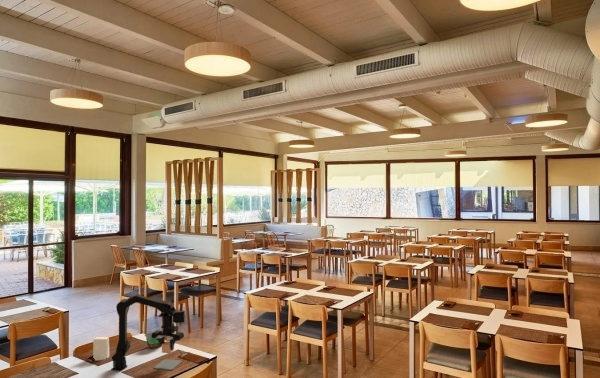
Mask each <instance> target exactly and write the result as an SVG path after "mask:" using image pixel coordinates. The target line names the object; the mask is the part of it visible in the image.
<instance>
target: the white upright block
mask: <svg viewBox="0 0 600 378" xmlns="http://www.w3.org/2000/svg"><path fill="white" fill-rule="evenodd" d="M92 344H93V348H92V349H93V350H92V353H93V355H92V356H93V358H94V359H95V360H94V359H93V360H94V361H104V360H107V359H108V358H109V357H110V339H109V337H106V336H105V337H102V336H101V337H94V338H93V343H92ZM106 358H107V359H106Z"/></svg>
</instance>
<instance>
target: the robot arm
mask: <svg viewBox="0 0 600 378" xmlns="http://www.w3.org/2000/svg"><path fill="white" fill-rule="evenodd" d="M136 303H137V304H140V305H144V306H148V307H150V308H154V309H156V310H158V311H159V312H161V313H160V314H159V315H158V317H159V318H162V320H161V321H162V325H161V326H160V329H162V330H158V329H157V330H154V331H152V332H153V333H152V332H151V333H152V335H151V338H157V339H156V340H158V342H159V343H160V345H161V347H162V344H163V343H164V342H166V338H167V337H168V338H170V339H169V341H170V347H171V350H173V347H174V348H175V345H176V341H180V340H182V339H183V338H185V333H184V332H181V331H180V332H178V330H179V326H178V325H175V324H184V323H186V319H187V315H186V313H185V312H186V311H185V310H181V311H177V308H175V306H174V305H173V302H172V301H170V300H157V299H155V298H152V297H147V296H144V295H141V294H135V295H133V296H131V297H128V298H123V299H122V300H120V301H119V302H118V303H117V304H116V313H117V315H118V342H117V346H116V349H115V353H114V354H113V355H112V356H111V360H112V368H111V371H116V372H117V371H118V372H120V371H122V370H125V368H127V367H128V364H127V357H126V355H127V353H129V351H130V349H131V340H128V313H129V310H130V307H131V306H133V304H136ZM162 331H163V332H162ZM175 332H176V333H175ZM173 351H174V350H173Z"/></svg>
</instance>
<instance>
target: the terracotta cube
mask: <svg viewBox="0 0 600 378" xmlns="http://www.w3.org/2000/svg"><path fill="white" fill-rule="evenodd" d="M173 351H175V346H174V347H173V350H171V347H170V340H165V342H164V343H163V344H162V346H161V353H162V354H170V353H172V352H173Z"/></svg>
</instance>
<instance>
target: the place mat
mask: <svg viewBox="0 0 600 378" xmlns="http://www.w3.org/2000/svg"><path fill="white" fill-rule="evenodd" d="M183 362H184V361H183V360H178V359H168V358H164V359H163V360H161V361H160V362H159V363H157V364H156V365H155V366H153V369H155V370H164V371H173V370H174V369H176V368H177V367H178V366H179V365H181V364H182V363H183Z"/></svg>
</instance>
